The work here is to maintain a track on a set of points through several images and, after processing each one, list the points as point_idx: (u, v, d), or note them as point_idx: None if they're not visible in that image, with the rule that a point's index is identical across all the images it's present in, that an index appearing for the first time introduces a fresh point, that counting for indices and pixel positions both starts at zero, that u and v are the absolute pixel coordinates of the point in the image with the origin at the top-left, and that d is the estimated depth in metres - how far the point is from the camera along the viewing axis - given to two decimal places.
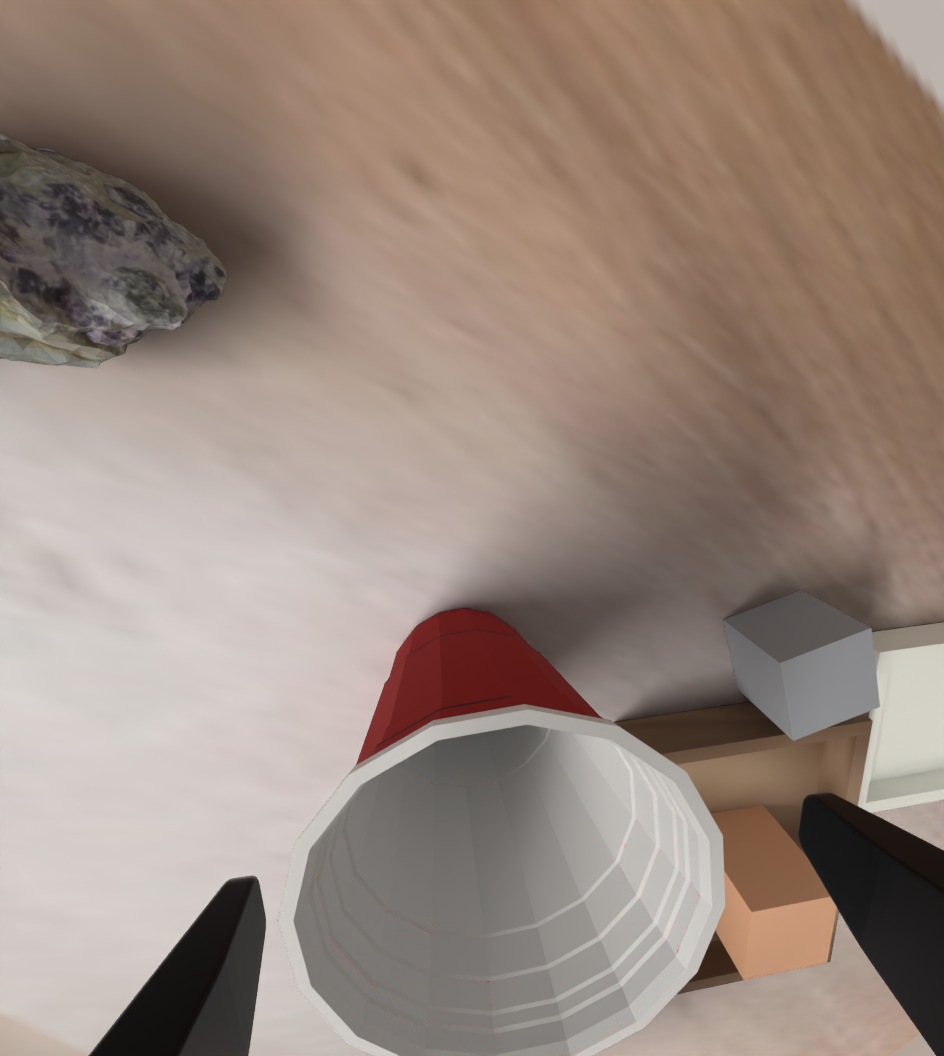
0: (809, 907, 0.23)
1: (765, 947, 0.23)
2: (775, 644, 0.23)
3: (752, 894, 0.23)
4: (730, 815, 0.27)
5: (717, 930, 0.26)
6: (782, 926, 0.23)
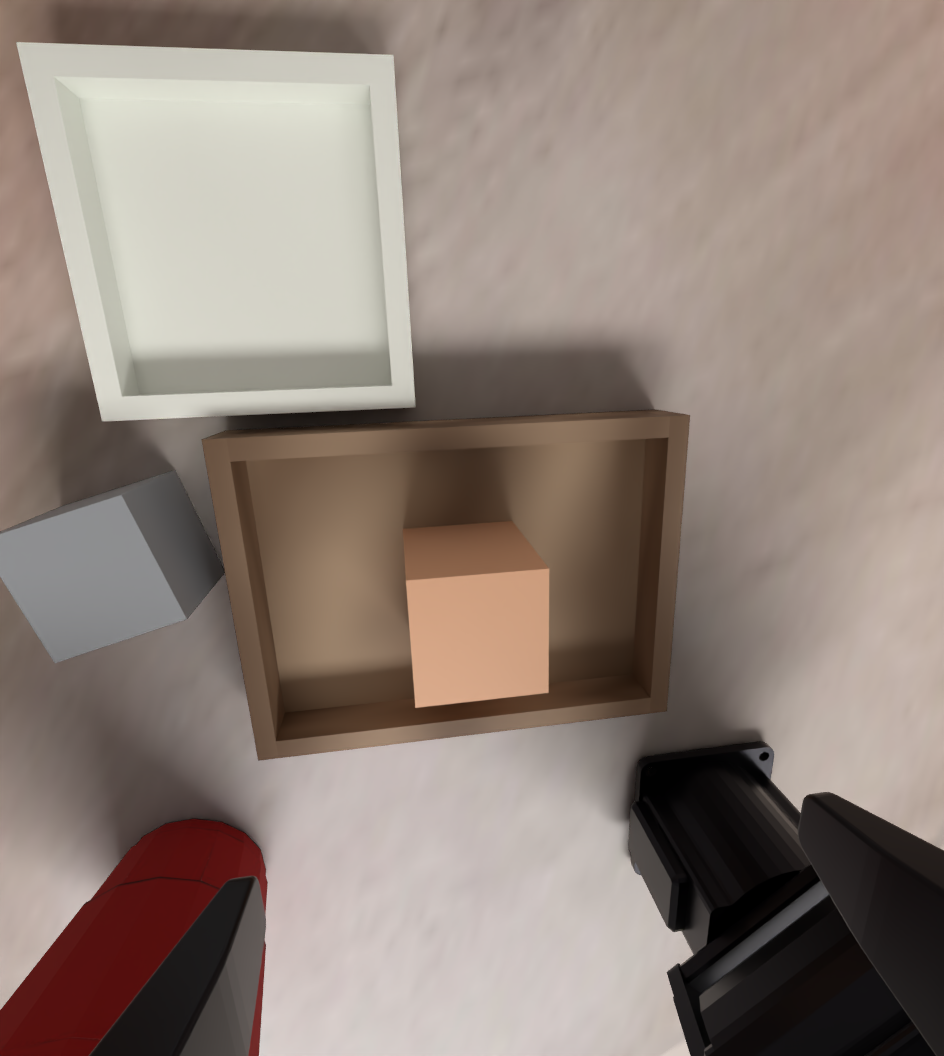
0: (422, 622, 0.15)
1: (491, 673, 0.16)
2: None
3: None
4: None
5: None
6: (452, 656, 0.16)
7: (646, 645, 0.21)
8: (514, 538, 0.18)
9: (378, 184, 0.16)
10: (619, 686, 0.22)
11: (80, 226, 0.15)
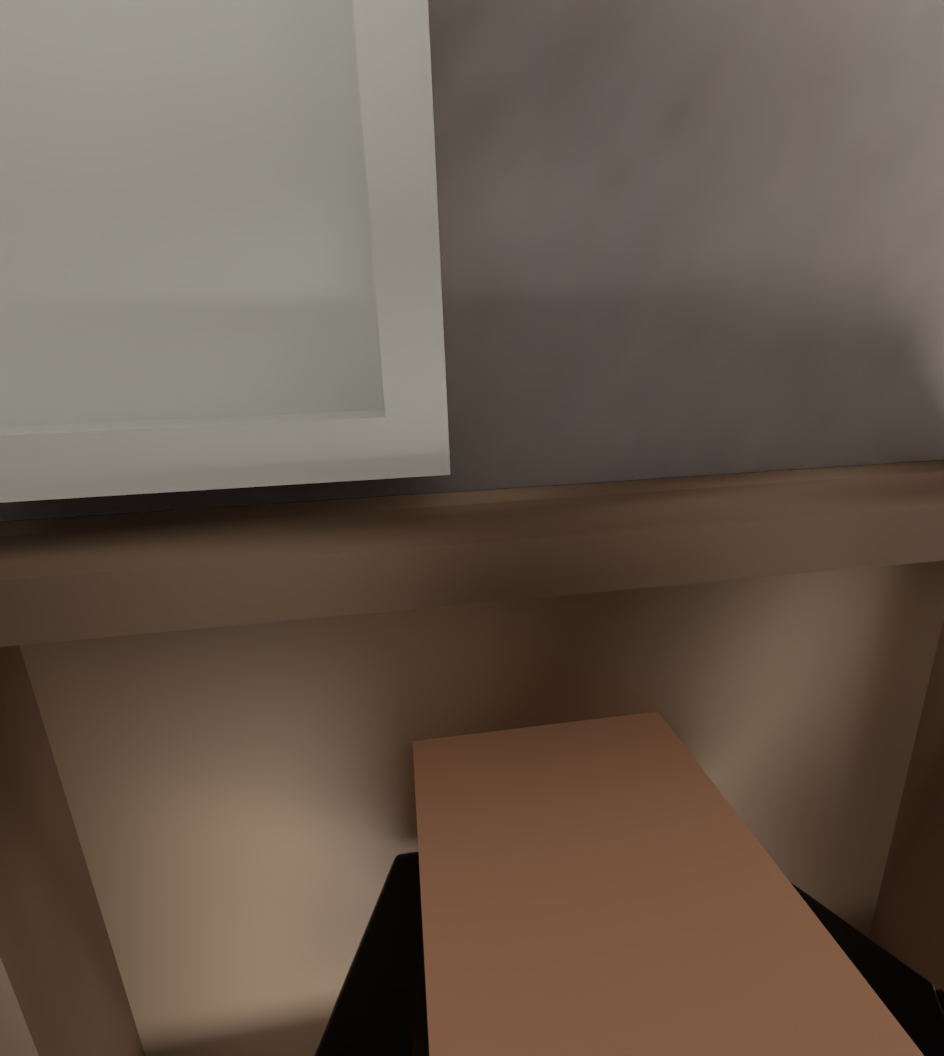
0: None
1: None
2: None
3: None
4: None
5: None
6: None
7: (925, 954, 0.10)
8: (707, 813, 0.07)
9: None
10: None
11: None
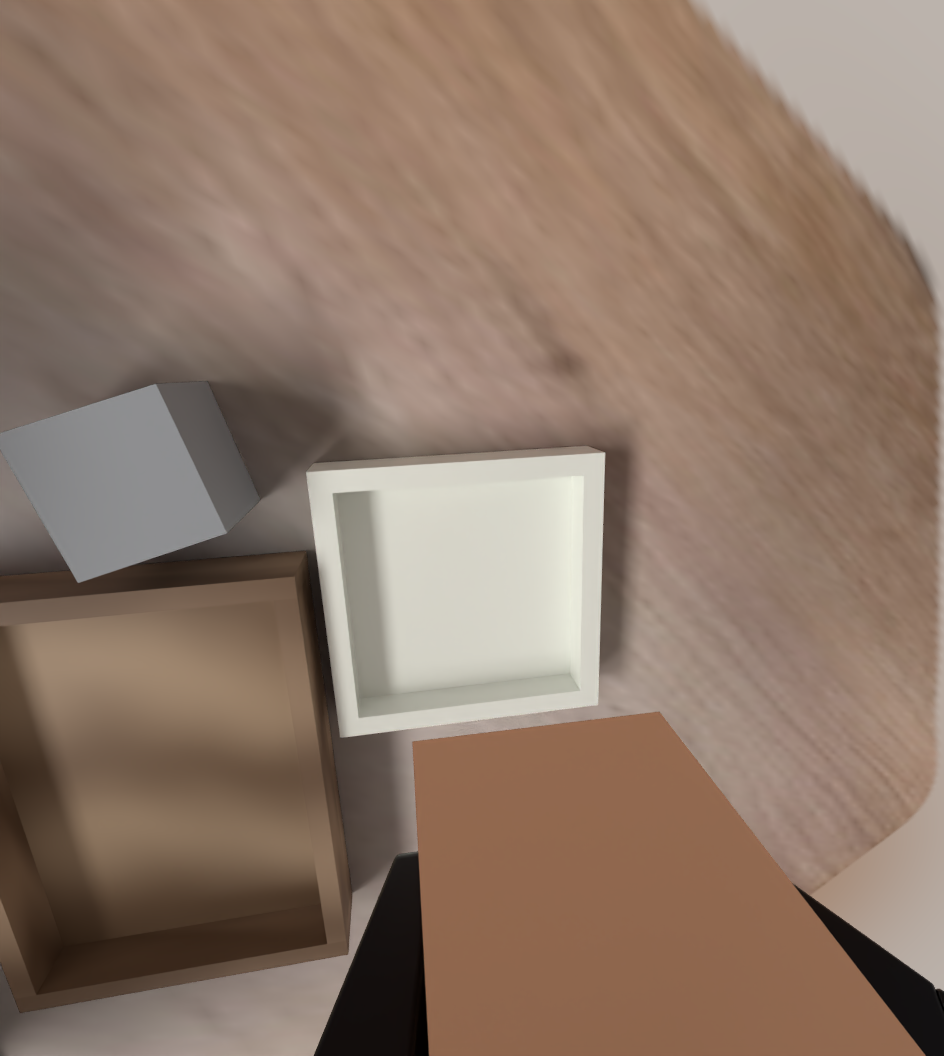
0: None
1: None
2: None
3: None
4: None
5: None
6: None
7: (103, 966, 0.20)
8: (709, 814, 0.07)
9: (516, 700, 0.20)
10: (46, 949, 0.20)
11: (479, 478, 0.17)
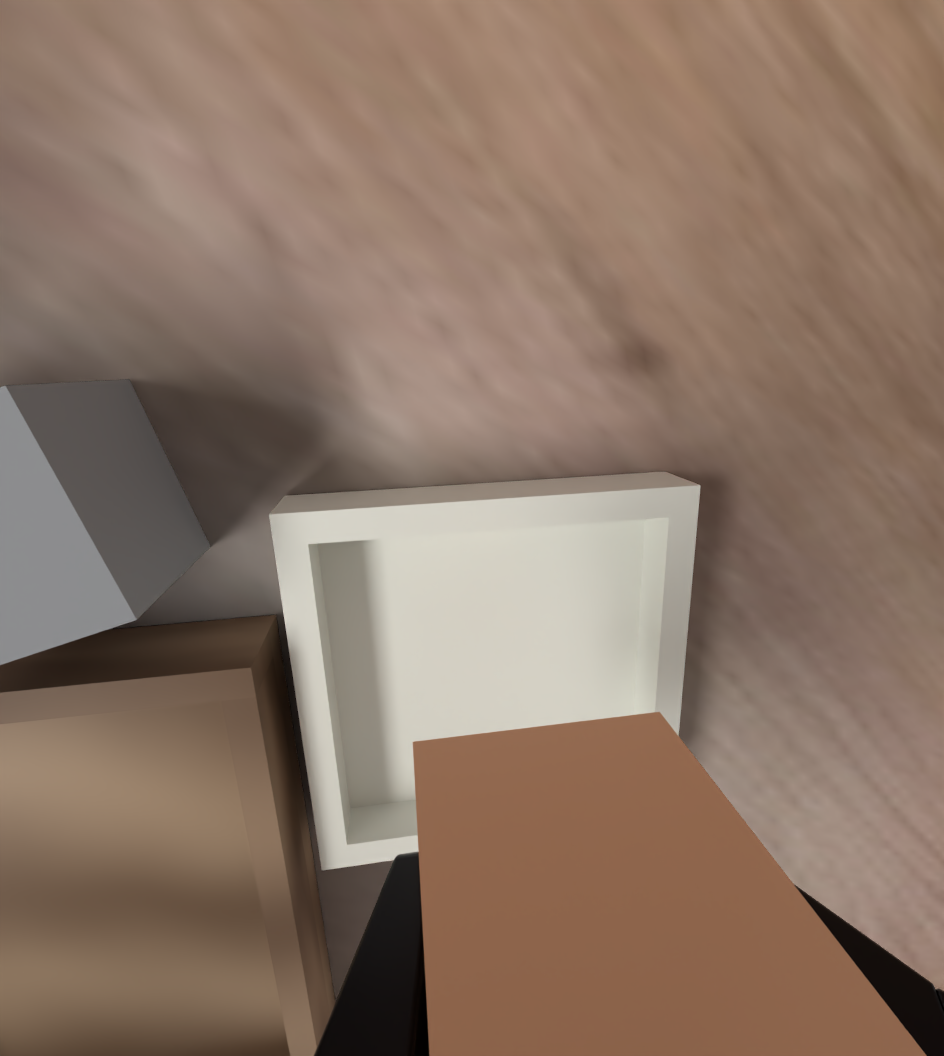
0: None
1: None
2: None
3: None
4: None
5: None
6: None
7: None
8: (709, 814, 0.07)
9: None
10: None
11: (520, 521, 0.12)
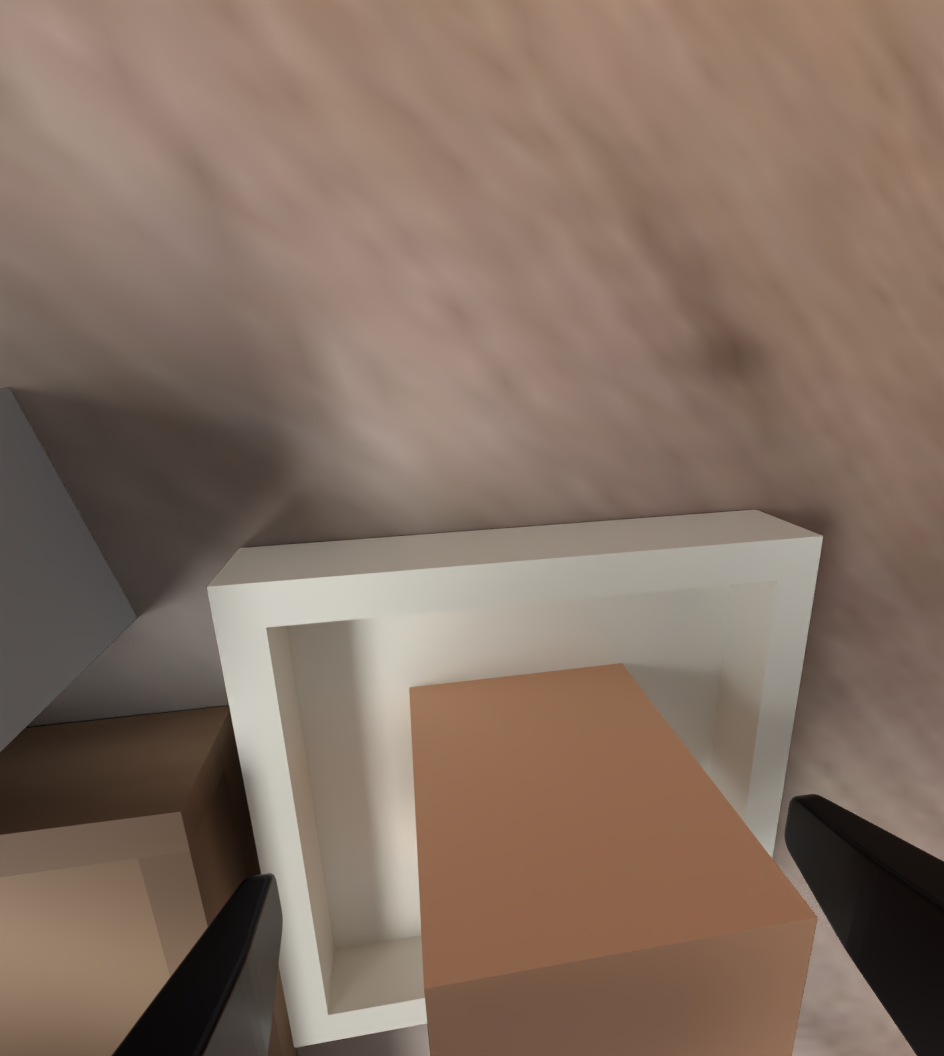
0: None
1: None
2: None
3: None
4: None
5: None
6: None
7: None
8: (653, 736, 0.08)
9: None
10: None
11: (571, 590, 0.08)
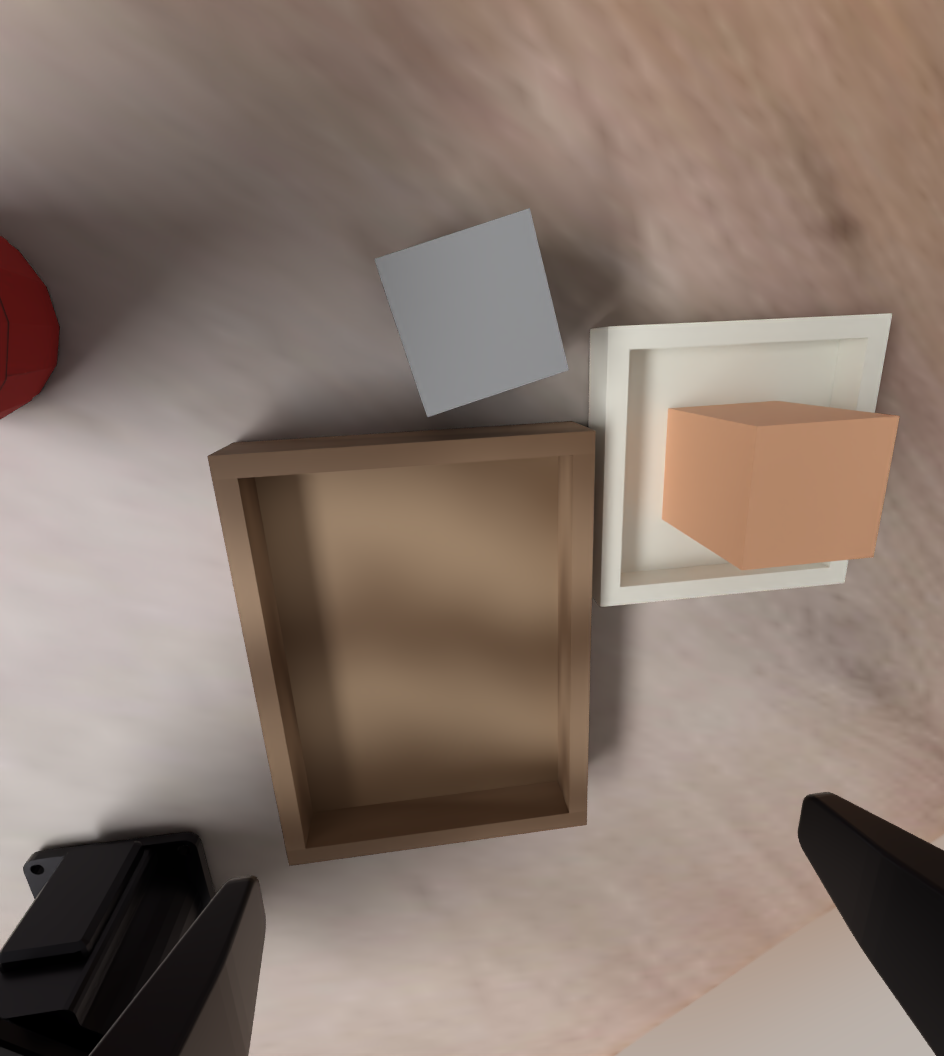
0: (764, 475, 0.14)
1: (821, 533, 0.15)
2: None
3: (729, 544, 0.16)
4: (668, 466, 0.19)
5: None
6: (787, 514, 0.15)
7: (359, 827, 0.21)
8: (809, 406, 0.17)
9: (768, 574, 0.20)
10: (306, 809, 0.21)
11: (768, 337, 0.17)
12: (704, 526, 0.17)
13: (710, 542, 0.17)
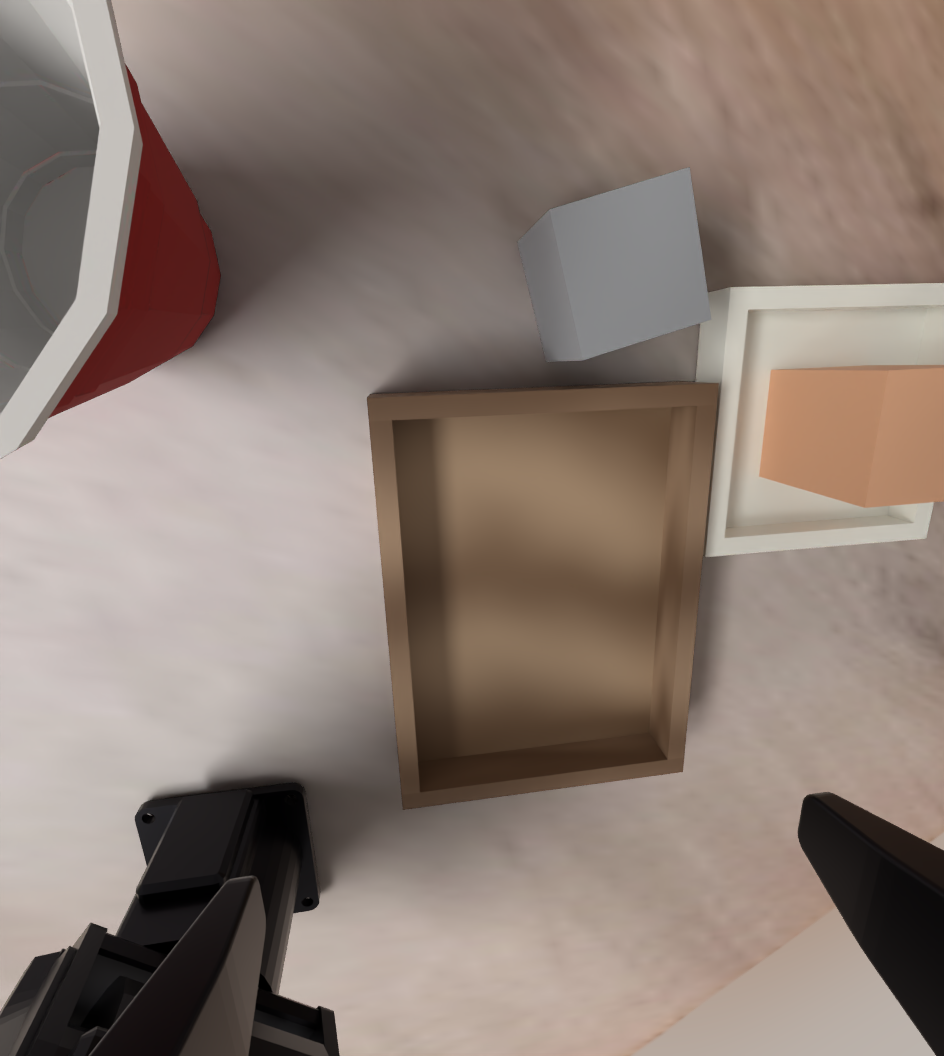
0: (891, 416, 0.16)
1: (937, 473, 0.17)
2: None
3: (848, 486, 0.17)
4: (769, 424, 0.20)
5: None
6: (908, 455, 0.16)
7: (467, 774, 0.22)
8: (909, 365, 0.19)
9: (859, 528, 0.21)
10: (417, 756, 0.21)
11: (871, 302, 0.19)
12: (816, 474, 0.18)
13: (823, 488, 0.18)
